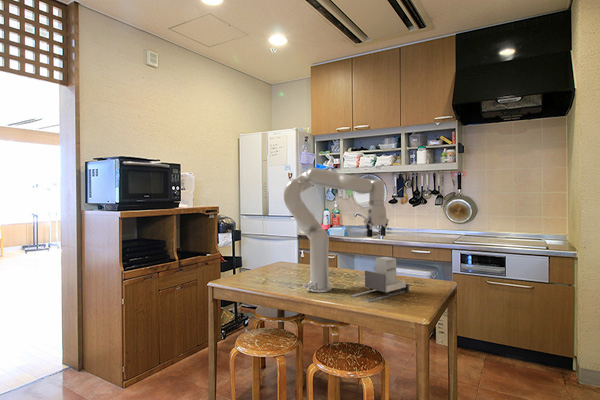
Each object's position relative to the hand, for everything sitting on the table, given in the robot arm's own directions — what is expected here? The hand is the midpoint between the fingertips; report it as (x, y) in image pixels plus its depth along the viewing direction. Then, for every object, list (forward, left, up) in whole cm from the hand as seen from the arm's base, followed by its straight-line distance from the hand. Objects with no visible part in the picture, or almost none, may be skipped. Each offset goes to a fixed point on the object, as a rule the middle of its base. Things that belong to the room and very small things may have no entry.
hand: (376, 236), depth 184 cm
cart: (-4, -8, -26) cm, 28 cm away
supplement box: (-2, -8, -23) cm, 24 cm away
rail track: (-8, -8, -27) cm, 29 cm away
